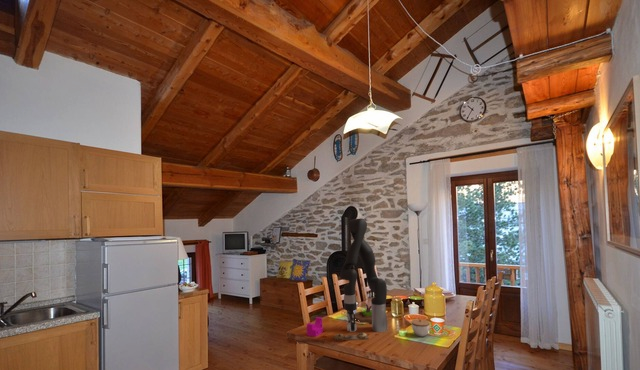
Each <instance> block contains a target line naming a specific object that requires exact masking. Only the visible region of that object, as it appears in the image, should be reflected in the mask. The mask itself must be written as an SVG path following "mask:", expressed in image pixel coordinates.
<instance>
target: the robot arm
mask: <svg viewBox="0 0 640 370" xmlns="http://www.w3.org/2000/svg"><path fill="white" fill-rule="evenodd" d="M367 229H368V222H367V221H366V220H365V218H352V219H350V220H349V222H348V230H349V232H350V235H351V237H352V239H353V240H352V243H350V246H349V247H348V249H347V252H346V253H347V254H346V257H345V262H344V263H343V265H342V267H341V270H340V277H341V279H342V280H344V281H348V283H346V284H344V286H343V307H344V310H345V311H346V315H347V316H346V317H347V320H348V322H350V324H351V331H355V324H357V322H356V321H355V312H354V311H356V310H357V308H358V307H357V295H356V285H357V284H356V283H357V280H358V272H357V270H356V269H354V268H353V269H352V267H354V266H356V265H357V263H358V259H359V258H360V262H361V264H362V266H363V270H364V273H365V277H366V281H367V282H366V283H367V286H368V288H369V290H371V291H372V292H373V293H374V297H372V298H370V299H371V300H370V301H371V305H370V306H372V307H371V309H372V323H371V327H372V328H371V329H372V331H373V332H376V333H383V332H387V331H388V315H387V308H386V303H387V302H386V301H387V296H388V295H387V290H388V289H387V288H388V286H387V282H386V281H385V280H384V279H382V278H380V277H378V275H377V272H376V269H375V267H376V266H375V265H376V257H375V254H374V251H373V248H372V247H371V246H370V244H369V243H368V242H367V241H366V239H365V235H366V232H367ZM371 291H370V292H371ZM352 322H353V323H352ZM355 332H356V331H355Z"/></svg>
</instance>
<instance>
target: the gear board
mask: <svg viewBox="0 0 640 370" xmlns="http://www.w3.org/2000/svg"><path fill="white" fill-rule="evenodd" d="M334 339H335V340H334ZM369 339H370V338H369V336H368V333H365V332H358V333H357V334H348V335H344V334H343V333H340V334H339V333H338V334H337V333H336V334H335V335H333V340H334V342H340V341H339V340H342V341H341V342H344V341H343V340H346V341H359V340H360V341H365V340H369Z"/></svg>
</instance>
